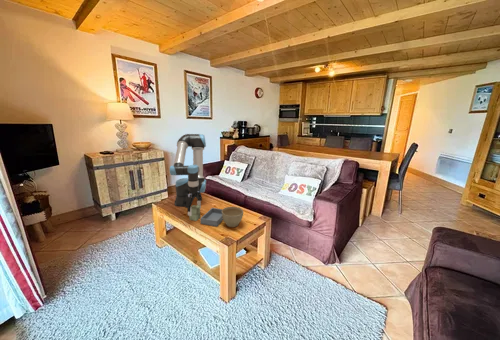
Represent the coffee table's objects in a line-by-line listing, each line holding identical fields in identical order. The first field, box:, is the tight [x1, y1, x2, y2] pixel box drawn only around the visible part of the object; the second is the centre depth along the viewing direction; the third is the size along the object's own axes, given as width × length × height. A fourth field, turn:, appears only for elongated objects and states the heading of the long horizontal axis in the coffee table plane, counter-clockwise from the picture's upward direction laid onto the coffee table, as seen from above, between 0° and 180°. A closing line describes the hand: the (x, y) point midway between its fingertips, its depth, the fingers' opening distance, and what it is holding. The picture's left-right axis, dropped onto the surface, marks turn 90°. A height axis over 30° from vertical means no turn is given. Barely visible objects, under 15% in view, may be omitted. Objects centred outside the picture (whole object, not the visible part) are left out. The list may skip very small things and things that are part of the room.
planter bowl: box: [222, 206, 244, 228], centre depth 152 cm, size 16×16×11 cm
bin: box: [199, 207, 224, 228], centre depth 159 cm, size 20×14×4 cm
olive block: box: [188, 204, 201, 222], centre depth 158 cm, size 6×6×10 cm
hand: (194, 211), depth 158 cm, fingers open, 13 cm apart
